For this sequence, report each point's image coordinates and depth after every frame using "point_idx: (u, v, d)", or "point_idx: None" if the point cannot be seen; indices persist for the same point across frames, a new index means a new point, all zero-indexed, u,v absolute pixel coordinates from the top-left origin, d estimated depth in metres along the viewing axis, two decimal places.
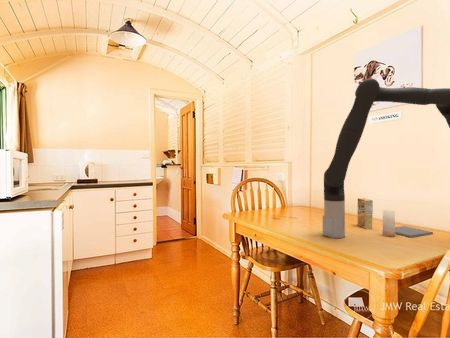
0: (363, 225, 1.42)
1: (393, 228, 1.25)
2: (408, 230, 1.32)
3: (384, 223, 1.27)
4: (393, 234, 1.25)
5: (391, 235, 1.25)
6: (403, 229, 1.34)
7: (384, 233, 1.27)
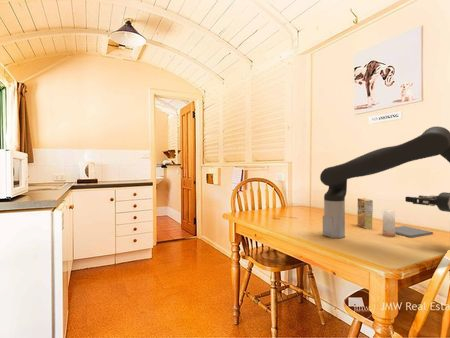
0: (363, 225, 1.42)
1: (393, 228, 1.25)
2: (408, 230, 1.32)
3: (384, 223, 1.27)
4: (393, 234, 1.25)
5: (391, 235, 1.25)
6: (403, 229, 1.34)
7: (384, 233, 1.27)
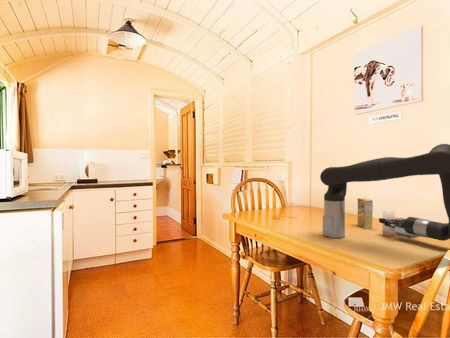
0: (363, 225, 1.42)
1: (393, 228, 1.25)
2: None
3: None
4: (393, 234, 1.25)
5: (391, 235, 1.25)
6: (403, 229, 1.34)
7: (384, 233, 1.27)
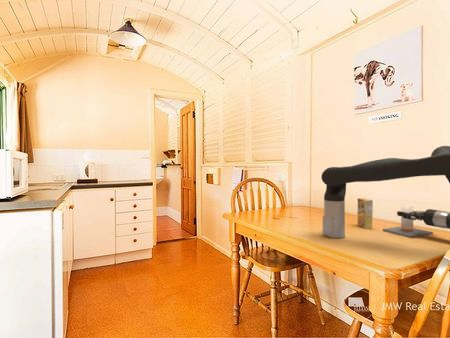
0: (363, 225, 1.42)
1: (411, 223, 1.30)
2: None
3: (402, 218, 1.32)
4: (412, 229, 1.30)
5: (410, 230, 1.30)
6: None
7: (403, 228, 1.32)
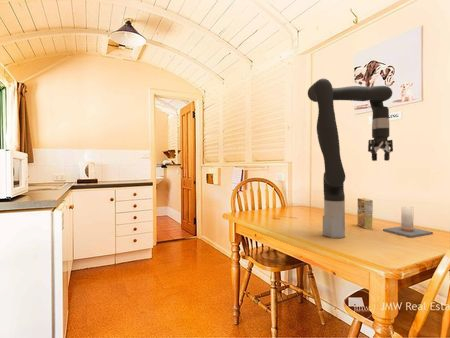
0: (363, 225, 1.42)
1: (412, 223, 1.30)
2: None
3: (403, 219, 1.32)
4: (412, 229, 1.30)
5: (410, 230, 1.30)
6: None
7: (403, 228, 1.32)
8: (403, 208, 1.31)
